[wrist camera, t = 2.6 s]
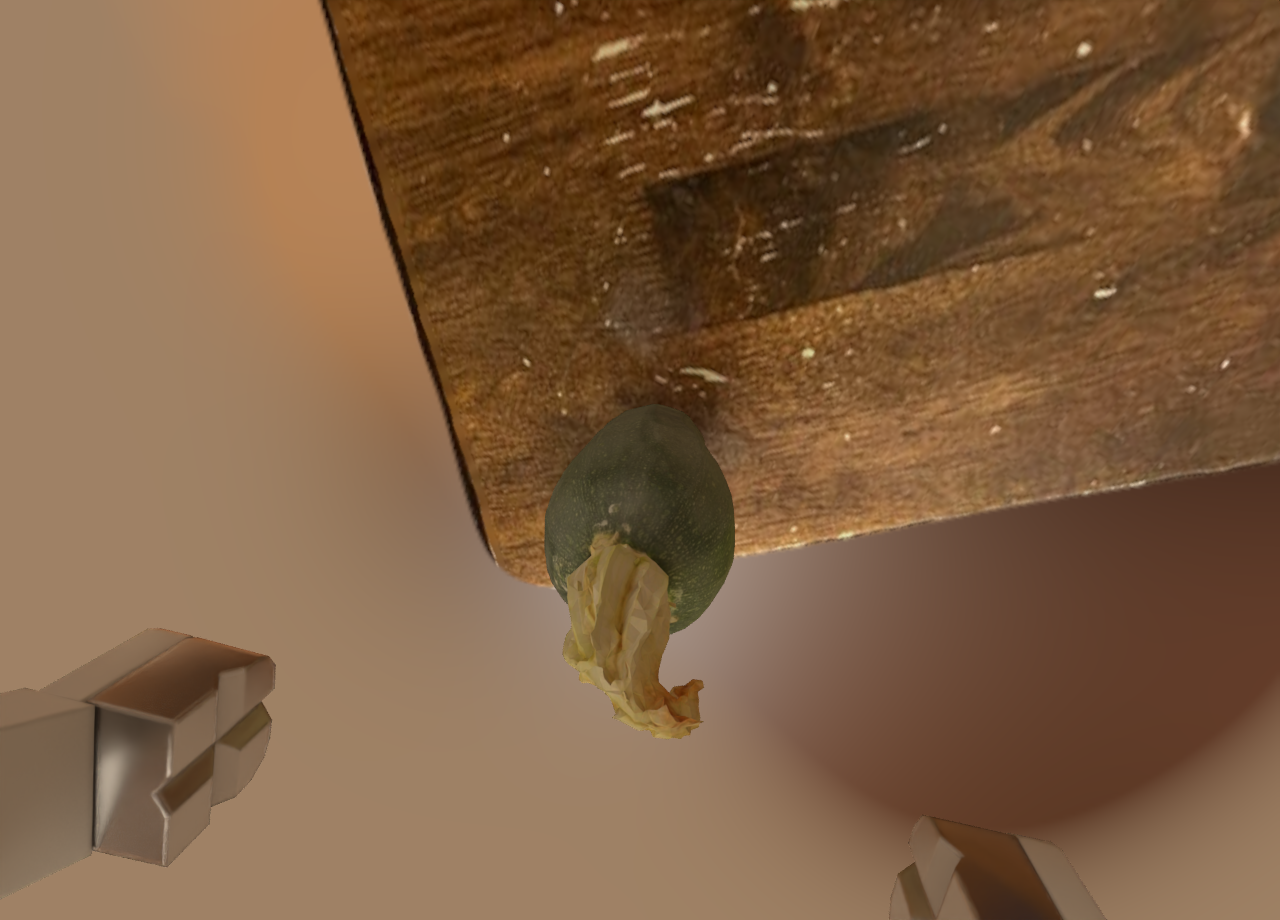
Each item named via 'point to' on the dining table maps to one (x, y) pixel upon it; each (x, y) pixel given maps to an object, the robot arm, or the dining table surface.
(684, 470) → the vegetable
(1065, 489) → the dining table surface
